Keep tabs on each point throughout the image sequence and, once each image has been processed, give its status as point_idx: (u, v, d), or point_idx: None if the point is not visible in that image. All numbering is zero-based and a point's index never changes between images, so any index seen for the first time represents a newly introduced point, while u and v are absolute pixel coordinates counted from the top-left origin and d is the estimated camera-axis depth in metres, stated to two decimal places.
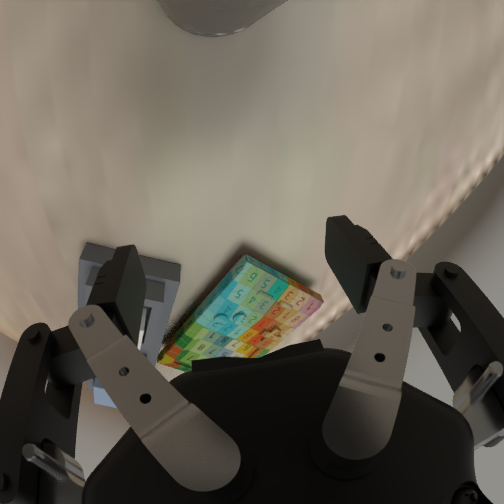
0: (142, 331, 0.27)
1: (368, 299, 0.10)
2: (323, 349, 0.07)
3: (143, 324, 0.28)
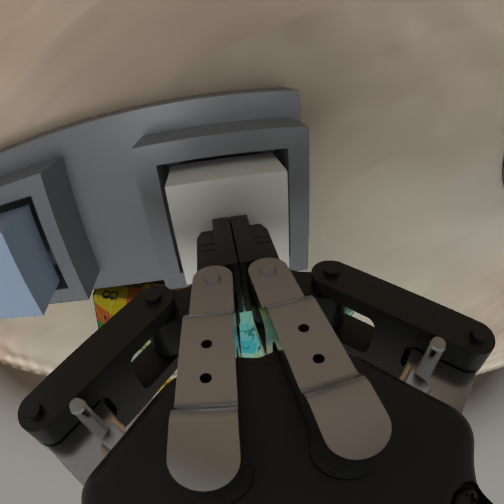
0: None
1: (249, 297, 0.10)
2: None
3: None
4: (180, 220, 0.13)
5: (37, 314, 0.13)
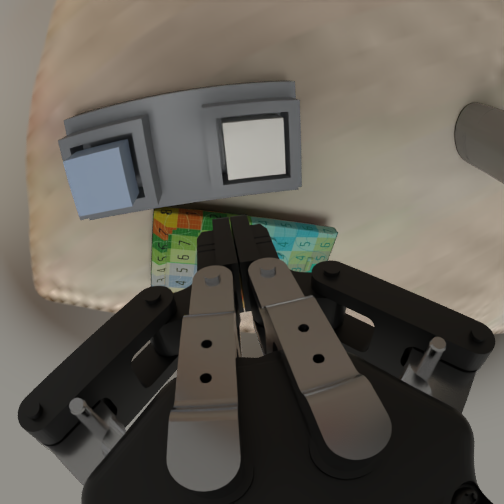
0: (284, 172, 0.26)
1: (249, 297, 0.10)
2: None
3: None
4: (228, 141, 0.24)
5: (127, 206, 0.23)
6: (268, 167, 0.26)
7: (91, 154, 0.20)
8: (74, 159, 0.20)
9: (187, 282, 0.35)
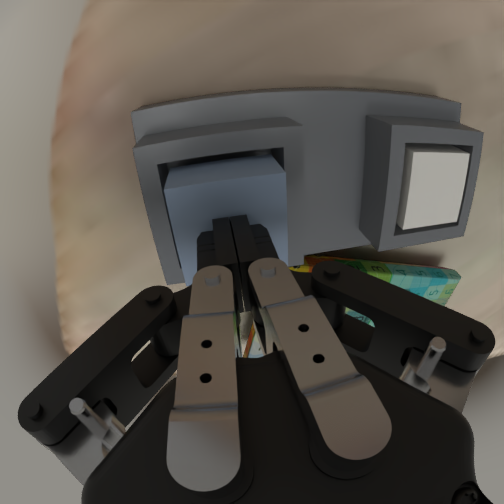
0: (455, 220, 0.18)
1: (249, 297, 0.10)
2: None
3: None
4: (415, 178, 0.16)
5: None
6: (444, 213, 0.17)
7: (228, 180, 0.12)
8: (190, 187, 0.12)
9: None
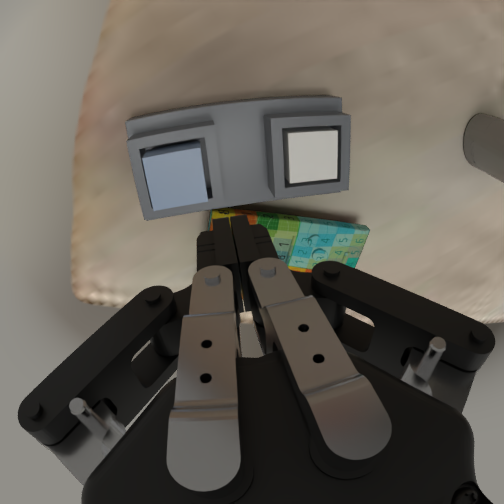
0: (336, 177, 0.30)
1: (249, 297, 0.10)
2: None
3: None
4: (292, 149, 0.28)
5: (203, 201, 0.27)
6: (323, 172, 0.29)
7: (172, 152, 0.24)
8: (154, 156, 0.24)
9: None
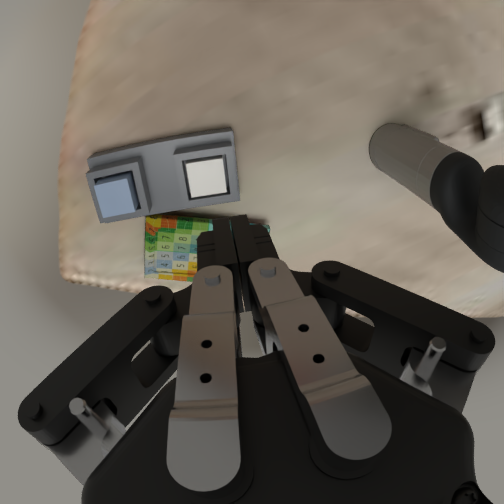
0: (225, 191, 0.43)
1: (249, 297, 0.10)
2: None
3: None
4: (190, 174, 0.41)
5: None
6: (215, 188, 0.42)
7: (111, 182, 0.37)
8: (100, 184, 0.37)
9: (168, 264, 0.51)
